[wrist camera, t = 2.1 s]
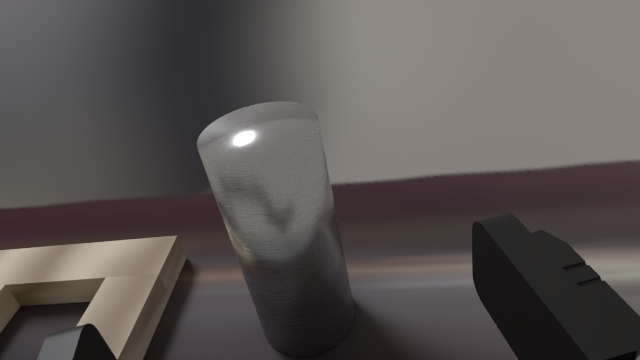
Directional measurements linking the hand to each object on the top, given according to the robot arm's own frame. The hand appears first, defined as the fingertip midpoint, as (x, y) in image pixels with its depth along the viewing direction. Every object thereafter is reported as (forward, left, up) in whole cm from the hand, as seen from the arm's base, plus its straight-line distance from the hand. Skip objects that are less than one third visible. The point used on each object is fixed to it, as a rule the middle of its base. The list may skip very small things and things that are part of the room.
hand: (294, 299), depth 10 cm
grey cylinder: (-7, +9, -13) cm, 18 cm away
